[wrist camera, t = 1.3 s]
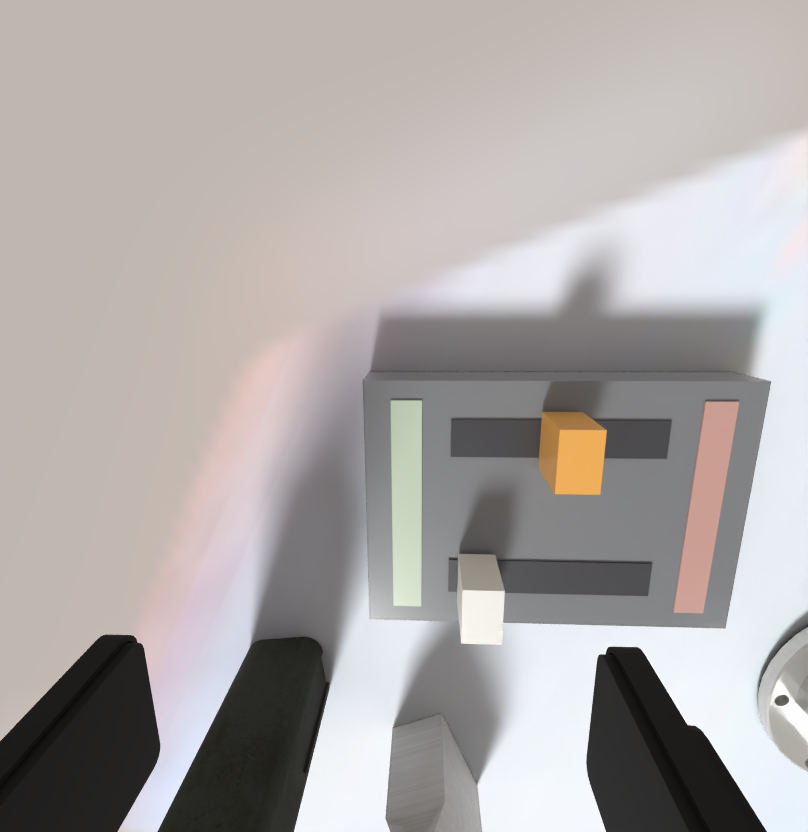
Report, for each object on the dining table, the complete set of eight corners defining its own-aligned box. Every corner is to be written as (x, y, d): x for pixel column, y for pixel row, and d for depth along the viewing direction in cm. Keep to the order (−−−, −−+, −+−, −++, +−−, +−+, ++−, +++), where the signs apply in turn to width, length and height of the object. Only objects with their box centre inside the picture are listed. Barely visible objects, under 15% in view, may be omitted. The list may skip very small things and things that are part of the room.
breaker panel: (732, 371, 26) (832, 396, 20) (695, 595, 29) (770, 678, 23) (369, 371, 27) (352, 395, 21) (375, 588, 30) (361, 666, 24)
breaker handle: (582, 411, 24) (606, 430, 20) (577, 468, 24) (600, 494, 21) (542, 411, 24) (559, 429, 21) (538, 468, 24) (554, 494, 21)
